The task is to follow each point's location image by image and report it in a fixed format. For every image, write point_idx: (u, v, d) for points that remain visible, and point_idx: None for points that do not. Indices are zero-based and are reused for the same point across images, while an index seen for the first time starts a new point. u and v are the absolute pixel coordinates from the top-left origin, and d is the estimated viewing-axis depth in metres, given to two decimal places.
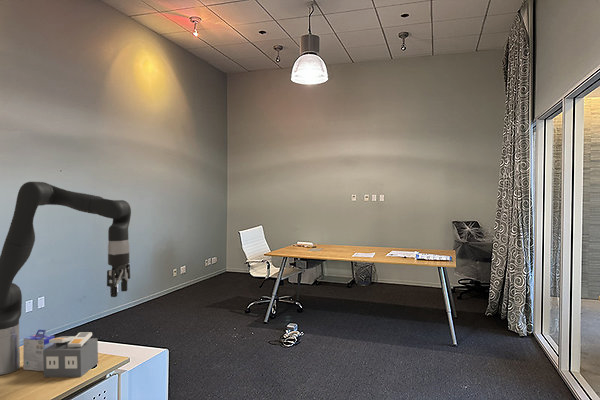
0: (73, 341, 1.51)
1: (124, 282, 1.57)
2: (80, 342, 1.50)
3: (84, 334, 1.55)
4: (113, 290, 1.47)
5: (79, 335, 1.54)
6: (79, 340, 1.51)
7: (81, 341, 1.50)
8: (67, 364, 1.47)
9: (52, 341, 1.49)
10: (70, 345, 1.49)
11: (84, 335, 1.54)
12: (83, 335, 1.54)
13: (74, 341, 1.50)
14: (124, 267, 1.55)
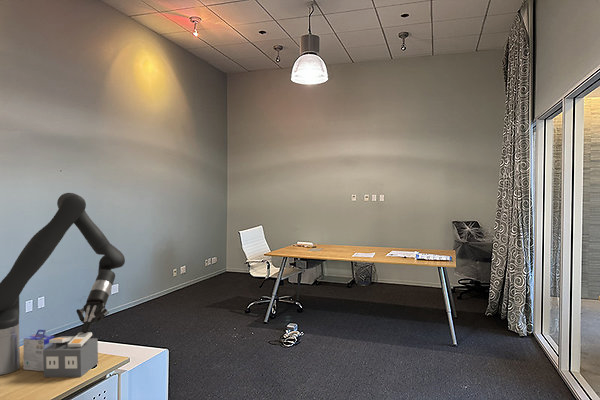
0: (73, 341, 1.51)
1: None
2: (80, 342, 1.50)
3: (84, 334, 1.55)
4: (90, 326, 1.58)
5: (79, 335, 1.54)
6: (79, 340, 1.51)
7: (81, 341, 1.50)
8: (67, 364, 1.47)
9: (52, 341, 1.49)
10: (70, 345, 1.49)
11: (84, 335, 1.54)
12: (83, 335, 1.54)
13: (74, 341, 1.50)
14: None
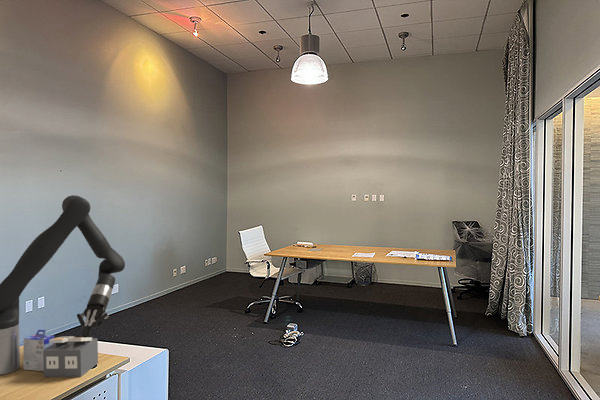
0: None
1: None
2: (81, 337, 1.50)
3: (84, 337, 1.55)
4: (91, 330, 1.58)
5: (80, 337, 1.55)
6: None
7: (82, 337, 1.51)
8: (67, 364, 1.47)
9: (52, 341, 1.49)
10: (70, 339, 1.49)
11: (85, 337, 1.55)
12: (83, 337, 1.55)
13: None
14: None
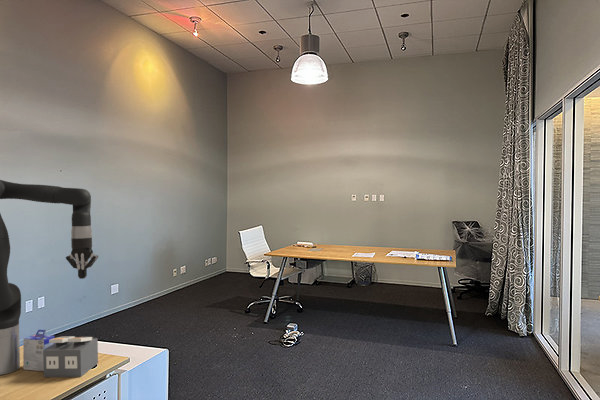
0: None
1: None
2: (80, 338, 1.50)
3: (84, 337, 1.55)
4: (86, 271, 1.65)
5: (80, 337, 1.55)
6: None
7: (81, 338, 1.51)
8: (67, 364, 1.47)
9: (52, 341, 1.49)
10: (70, 340, 1.49)
11: (84, 337, 1.55)
12: (83, 337, 1.55)
13: None
14: None
